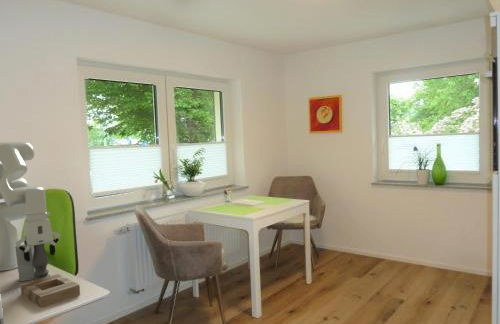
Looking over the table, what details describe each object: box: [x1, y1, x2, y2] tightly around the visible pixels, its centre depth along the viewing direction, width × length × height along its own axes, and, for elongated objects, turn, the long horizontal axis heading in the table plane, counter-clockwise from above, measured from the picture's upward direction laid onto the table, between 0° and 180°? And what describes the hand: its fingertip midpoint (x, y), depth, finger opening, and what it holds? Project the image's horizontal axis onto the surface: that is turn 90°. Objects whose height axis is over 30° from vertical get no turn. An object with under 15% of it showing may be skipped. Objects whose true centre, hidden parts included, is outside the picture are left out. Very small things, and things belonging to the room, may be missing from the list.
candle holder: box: [32, 226, 51, 281], centre depth 161 cm, size 6×6×25 cm
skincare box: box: [15, 242, 36, 282], centre depth 169 cm, size 8×7×16 cm
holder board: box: [20, 273, 81, 308], centre depth 150 cm, size 20×14×4 cm
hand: (40, 257), depth 161 cm, fingers open, 9 cm apart
